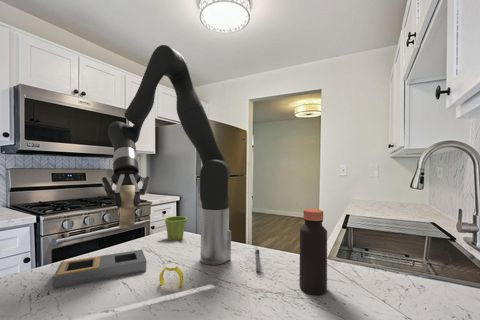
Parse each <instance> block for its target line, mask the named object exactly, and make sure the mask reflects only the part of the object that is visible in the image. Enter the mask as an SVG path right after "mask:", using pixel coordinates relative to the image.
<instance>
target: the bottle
mask: <svg viewBox="0 0 480 320" xmlns="http://www.w3.org/2000/svg"><path fill="white" fill-rule="evenodd" d="M303 221H304V224H303V225H302V226H301V227H300V228H299V284H298V285H299V288H300V289H301V290H302V291H303V292H304V293H307V294H309V295H313V296H322V295H325V294H326V293H327V292H328V230H327V229H326V228H325V226H323V223H324V210H322V209H316V208H305V209H303Z"/></svg>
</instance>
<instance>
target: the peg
mask: <svg viewBox="0 0 480 320" xmlns="http://www.w3.org/2000/svg"><path fill="white" fill-rule="evenodd" d="M135 212H136V210H135V185H124V186H120V208H119V220H118V221H119V225H118V227H119V229H131V228H133V227H135V219H136V218H135V215H136V214H135Z"/></svg>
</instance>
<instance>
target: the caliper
mask: <svg viewBox="0 0 480 320" xmlns="http://www.w3.org/2000/svg"><path fill="white" fill-rule="evenodd" d="M254 252H255V271H256V272H260V249H259V247H258V246H257V245H255V246H254Z"/></svg>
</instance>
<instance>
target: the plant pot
mask: <svg viewBox="0 0 480 320" xmlns="http://www.w3.org/2000/svg"><path fill="white" fill-rule="evenodd" d="M163 220H164V222H165V223H164V224H165V226H166V227H165V228H166V234H167V240H168V241H174V240H176V241H179V240H183V239H184V232H185V227H186V223H187V220H188V218H187V217H186V216H169V217H165V218H164V219H163Z"/></svg>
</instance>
